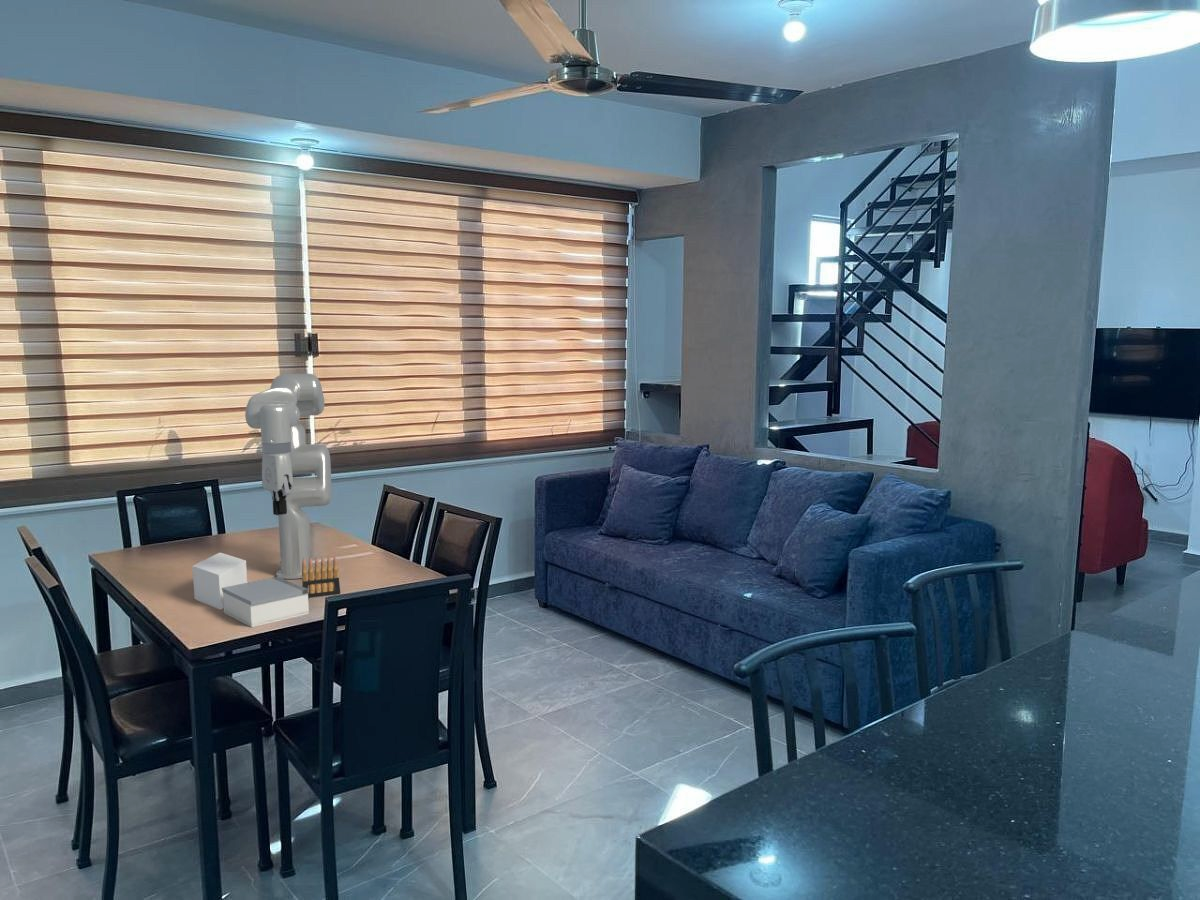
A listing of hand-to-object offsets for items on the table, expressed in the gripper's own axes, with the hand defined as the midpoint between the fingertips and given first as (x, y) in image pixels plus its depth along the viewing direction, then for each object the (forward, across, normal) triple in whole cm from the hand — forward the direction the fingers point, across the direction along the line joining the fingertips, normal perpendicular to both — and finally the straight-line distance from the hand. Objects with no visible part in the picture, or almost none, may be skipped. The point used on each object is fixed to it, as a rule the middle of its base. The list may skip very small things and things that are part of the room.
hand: (280, 514), depth 241 cm
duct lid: (+21, +1, -6) cm, 22 cm away
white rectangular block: (+28, -25, -8) cm, 38 cm away
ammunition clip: (+28, -4, +13) cm, 31 cm away
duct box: (+27, +1, -6) cm, 28 cm away
